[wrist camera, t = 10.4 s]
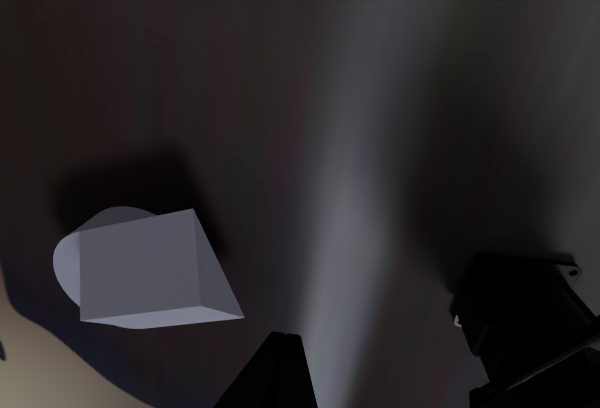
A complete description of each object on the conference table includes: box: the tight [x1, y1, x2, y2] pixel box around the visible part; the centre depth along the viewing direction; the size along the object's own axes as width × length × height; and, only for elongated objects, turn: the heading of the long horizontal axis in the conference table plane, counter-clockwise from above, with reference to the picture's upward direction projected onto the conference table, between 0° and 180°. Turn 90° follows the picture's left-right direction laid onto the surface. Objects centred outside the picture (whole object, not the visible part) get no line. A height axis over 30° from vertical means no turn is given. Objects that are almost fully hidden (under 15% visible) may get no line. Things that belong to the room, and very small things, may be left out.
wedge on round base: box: [53, 206, 245, 329], centre depth 23 cm, size 9×7×13 cm
